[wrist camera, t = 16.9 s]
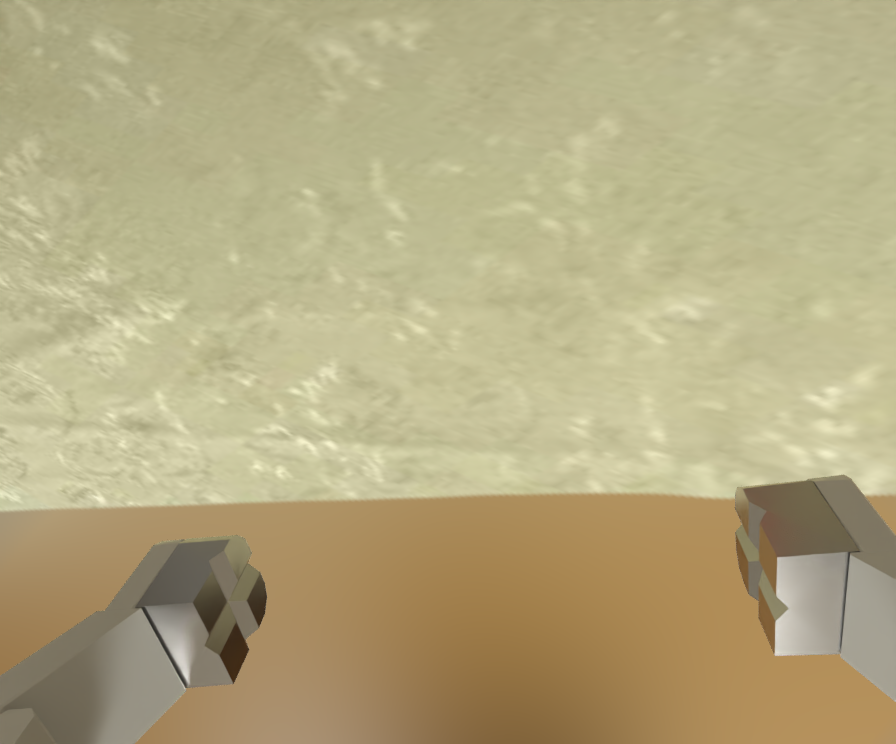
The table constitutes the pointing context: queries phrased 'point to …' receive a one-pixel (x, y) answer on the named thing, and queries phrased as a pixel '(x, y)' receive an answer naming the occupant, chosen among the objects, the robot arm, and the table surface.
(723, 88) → the table surface
